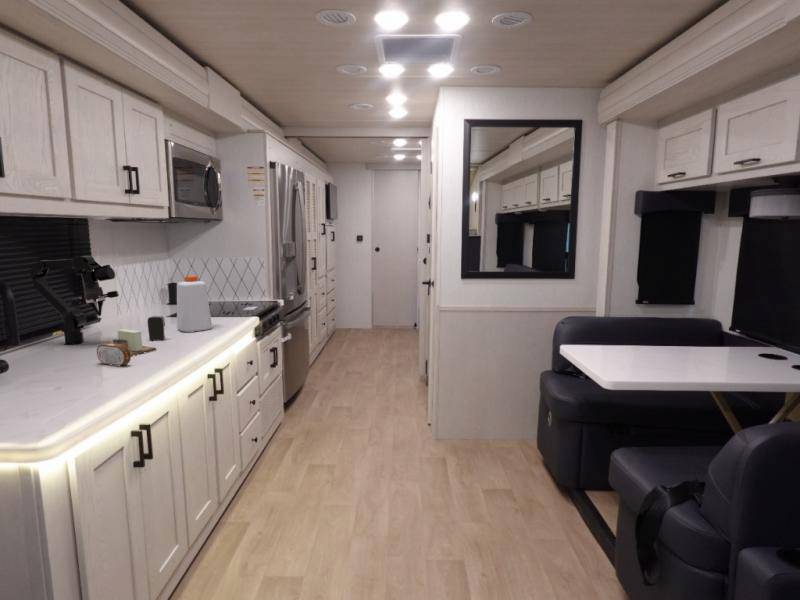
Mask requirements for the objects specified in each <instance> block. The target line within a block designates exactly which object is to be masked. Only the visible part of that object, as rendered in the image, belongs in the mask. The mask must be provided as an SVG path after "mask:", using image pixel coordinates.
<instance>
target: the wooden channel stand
mask: <svg viewBox="0 0 800 600" xmlns="http://www.w3.org/2000/svg"><path fill="white" fill-rule="evenodd" d="M112 343H115V344H123V345H125V346H126V347H127V341H126V340H119V339H118V338H115V339H112ZM142 349H143V350H139V351H131V350H129V351H130V354H131V357H134V356H133V355H135V356H137V355H136V354H139V355H141V354H140V353H143V354H145V353H144V352H147V353H150V352H149V351H151V352H154V351H153V350H155V351H156V350H157V347H153V346H146V345H142Z"/></svg>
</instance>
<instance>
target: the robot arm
mask: <svg viewBox="0 0 800 600" xmlns="http://www.w3.org/2000/svg"><path fill="white" fill-rule="evenodd" d="M60 268H65V269H66V268H71V269H78V270H77V272H76V273H75V276H80V275H81V278H82V282H83V286H84V295H85V297H82V296H79V297H75V298H71V299H70V301H69V302H70V305H69V304H68V303H67V302H66V301H65V300H64V299H63V298H61V296H59V295H58V294H57V292H55V290H54V289H53V288H52V287H51V286H49V285H48V280H47V279H46V276H48V273H49V270H50V269H60ZM30 269H31V277H32V279H33V282H34V287H35V288H36V291H35V292H37V293H39V295H40V296H42V297H43V298H44V299H45V301H47V302H48V303H49V304H50V305H51V306H52V307H53V308H54V309H55V310H56V311H57V312H58V313H59V314H60V315H61V319H62V321H63V322H64V324H62V325H61V326H60V331H61V333H64V343H63V345H64V346H65V345H66V346H67V345H68V344H70V345H80V344H82V343H83V342H84V341H85V337H84V332H83V329H84V328H85V324H86V323H87V319H88V318H87V316H86V313H84V312H83V311H82V310H81V309H80V308H79V307H77V308H72V307H71V306H75V305H77V306H78V305H80V304H82V303H85V302H86V303H85V305H89V306H90V307H91V308H92V309H93V310H94V311H95V313H96V315H98V317H102V311H103V304H104V302H106V300H107V298H109V299H113V298H117V297H119V296H120V295H119V294H120V293H119V291H118V290H111V291H108V292H107V293H104V290H103V288H102V286H100V284H99V282H104V281H109V280H115V277H116V273H115V270H114V269H113V268H112V267H111V265H110V264H105V265H103V266H102V265H100V264H99V263H98V262H97V261H95V258H94V257H93V256H91V255H81V256H75V257H72V258H68V259H52V260H51V259H50V260H47V259H45V260H38V261H37V262H36V263H35V264H34V265H33V266H32V267H31V268H30ZM41 271H42V272H43V274H40V275H37V274H38V273H39V272H41ZM68 346H69V345H68Z"/></svg>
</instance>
